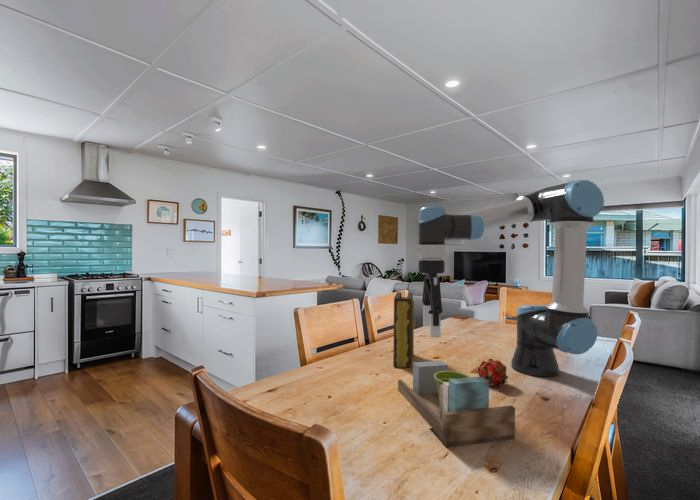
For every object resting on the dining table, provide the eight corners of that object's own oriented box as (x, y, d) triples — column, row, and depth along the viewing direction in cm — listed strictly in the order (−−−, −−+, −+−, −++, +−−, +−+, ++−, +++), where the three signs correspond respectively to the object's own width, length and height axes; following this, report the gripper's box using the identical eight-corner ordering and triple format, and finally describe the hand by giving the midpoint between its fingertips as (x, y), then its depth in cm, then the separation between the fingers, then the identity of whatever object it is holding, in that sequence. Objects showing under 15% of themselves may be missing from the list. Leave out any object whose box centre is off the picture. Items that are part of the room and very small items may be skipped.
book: (414, 369, 124) (414, 299, 124) (389, 367, 126) (390, 298, 126) (415, 352, 146) (415, 291, 146) (394, 350, 148) (395, 291, 148)
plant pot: (462, 402, 96) (463, 370, 96) (478, 418, 86) (478, 383, 86) (429, 403, 95) (429, 371, 95) (441, 420, 86) (441, 384, 86)
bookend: (440, 387, 106) (441, 360, 106) (447, 392, 102) (447, 364, 102) (412, 389, 104) (413, 362, 104) (418, 394, 100) (418, 366, 100)
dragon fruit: (499, 384, 116) (490, 401, 106) (477, 365, 119) (466, 381, 110) (515, 367, 112) (507, 384, 103) (492, 348, 116) (482, 363, 106)
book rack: (450, 388, 108) (450, 346, 107) (514, 438, 79) (515, 381, 79) (398, 393, 104) (398, 349, 104) (445, 447, 75) (446, 387, 75)
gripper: (413, 258, 116) (413, 322, 116) (424, 260, 91) (424, 342, 91) (436, 258, 116) (436, 322, 116) (454, 260, 91) (453, 342, 91)
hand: (431, 331), depth 104 cm, fingers open, 13 cm apart
